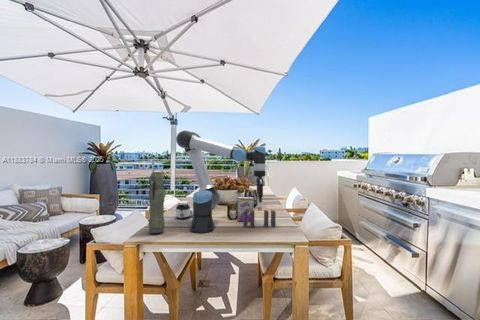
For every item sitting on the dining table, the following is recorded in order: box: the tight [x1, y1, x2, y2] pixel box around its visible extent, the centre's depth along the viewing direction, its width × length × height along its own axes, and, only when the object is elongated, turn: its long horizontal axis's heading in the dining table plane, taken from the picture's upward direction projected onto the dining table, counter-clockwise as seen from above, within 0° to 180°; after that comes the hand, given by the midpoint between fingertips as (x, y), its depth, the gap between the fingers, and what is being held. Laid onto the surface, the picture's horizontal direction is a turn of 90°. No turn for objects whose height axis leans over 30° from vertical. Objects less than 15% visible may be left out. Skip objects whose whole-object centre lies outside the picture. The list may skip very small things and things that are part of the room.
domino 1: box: [243, 210, 248, 228], centre depth 160 cm, size 2×5×10 cm, turn 3°
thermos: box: [148, 171, 165, 234], centre depth 148 cm, size 9×12×35 cm
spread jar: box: [175, 200, 193, 220], centre depth 183 cm, size 12×11×12 cm
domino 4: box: [263, 209, 269, 228], centre depth 161 cm, size 2×5×10 cm, turn 3°
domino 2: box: [249, 209, 255, 228], centre depth 160 cm, size 2×5×10 cm, turn 3°
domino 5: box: [270, 209, 277, 228], centre depth 161 cm, size 2×5×10 cm, turn 3°
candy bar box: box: [236, 196, 255, 223], centre depth 174 cm, size 11×5×16 cm, turn 84°
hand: (259, 206), depth 160 cm, fingers closed on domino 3, 5 cm apart
